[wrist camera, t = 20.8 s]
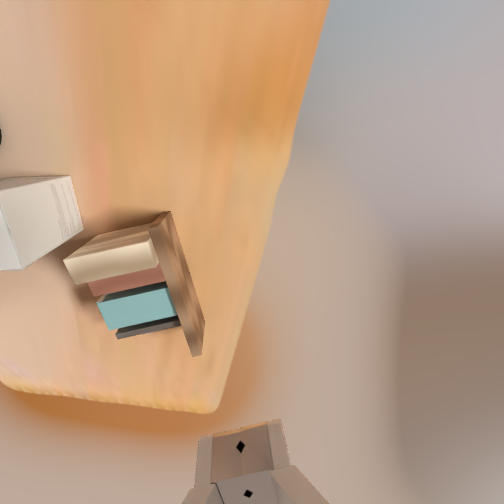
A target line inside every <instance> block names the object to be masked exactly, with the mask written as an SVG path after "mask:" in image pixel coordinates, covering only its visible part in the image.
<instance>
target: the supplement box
mask: <svg viewBox="0 0 504 504" xmlns="http://www.w3.org/2000/svg"><path fill="white" fill-rule="evenodd" d="M83 230H84V228H83V224H82V220H81V216H80V212H79V208H78V204H77V200H76V196H75V192H74V188H73V185H72V181H71V177H70V176H40V177H14V178H7V179H2V180H0V271H16V270H24V269H25V268H26V267H28V266H29V265H30V264H32V263H33V262H35V261H36V260H38V259H40V258H41V257H43V256H44V255H46V254H47V253H49V252H50V251H52V250H54V249H55V248H57V247H58V246H60V245H61V244H63V243H65V242H66V241H68V240H69V239H71V238H72V237H74V236H75V235H77V234H78V233H80V232H81V231H83Z"/></svg>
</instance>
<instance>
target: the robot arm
mask: <svg viewBox="0 0 504 504" xmlns="http://www.w3.org/2000/svg"><path fill="white" fill-rule="evenodd" d="M182 504H329V503H328V502H327V501H326V500H325V498H324V497H323V496H322V495H321V494H320V493H319V492H318V491H317V490H316V489H315V487H314V486H313V485H312V484H311V483H310V482H309V481H308V479H307V478H306V477H305V476H304V475H303V474H302V473H301V472H300V471H299V470H298V468H297V467H296V466H295V465H291V463H290V458H289V454H288V449H287V445H286V441H285V436H284V432H283V428H282V423H281V419H276V420H272V421H268V422H267V421H266V422H262V423H258V424H254V425H250V426H246V427H242V428H240V429H236V430H230V431H225V432H220V433H215V434H211V435H206V436H202V437H200V438H199V441H198V451H197V463H196V474H195V485H194V488H193V489H190V490H189V492H188V494H187V495H186V497H185V499H184V500H183V502H182Z"/></svg>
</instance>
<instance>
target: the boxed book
mask: <svg viewBox="0 0 504 504" xmlns="http://www.w3.org/2000/svg"><path fill="white" fill-rule="evenodd" d="M96 303H97V306H98V308H99V310H100V312H101V314H102V316H103V318H104V320H105V323H106V325H107V327H108V329H109V330H113V329H118V328H122V327H127V326H131V325H136V324H140V323H144V322H149V321H153V320H158V319H162V318H167V317H171V316H176V315H178V314H177V311H176V308H175V306H174V303H173V300H172V297H171V294H170V291H169V289H168V286H167V283H166V281H163V282H159V283H154V284H150V285H145V286H141V287H136V288H132V289H127V290H123V291H118V292H114V293H109V294H105V295H102V296H101V297H100V298H99V300H98V301H97V302H96Z"/></svg>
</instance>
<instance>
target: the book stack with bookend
mask: <svg viewBox="0 0 504 504" xmlns="http://www.w3.org/2000/svg"><path fill="white" fill-rule="evenodd" d="M63 261H64V263H65V266H66V268H67V270H68V272H69V274H70V276H71V278H72V280H73V282H74V284H75V285H77V284H82V283H86V282H87V284H88V286H89V288H90V290H91V292H92V294H93V297H96V296H100V295H105V294H109V293H114V292H118V291H123V290H127V289H132V288H136V287H141V286H145V285H150V284H154V283H159V282H163V281H166V283H167V286H168V289H169V291H170V294H171V297H172V300H173V303H174V306H175V308H176V311H177V314H178V315H176V316H171V317H167V318H162V319H158V320H153V321H149V322H144V323H140V324H136V325H131V326H127V327H122V328H119V329H118V331H117V333H116V337H117V339H121V338H126V337H130V336H135V335H139V334H146V333H151V332H155V331H159V330H164V329H168V328H173V327H177V326H182V328H183V331H184V334H185V337H186V340H187V343H188V345H189V348H190V351H191V354H192V357H195V356H199V355H201V354H202V345H203V336H204V326H205V320H204V317H203V314H202V311H201V308H200V304H199V301H198V298H197V295H196V292H195V288H194V285H193V282H192V279H191V276H190V272H189V269H188V266H187V263H186V260H185V256H184V253H183V250H182V247H181V244H180V240H179V237H178V234H177V231H176V228H175V224H174V221H173V218H172V215H171V212H170V211H169V212H164V213H161V214H160V215H159V217H158V218H157V219H156V220H155V221H154V222H153V223H149V224H144V225H140V226H135V227H131V228H126V229H122V230H117V231H112V232H108V233H103V234H99V235H97V236H96V237H94V238H93V239H91V240H90V241H89V242H87V243H86V244H85V245H83V246H82V247H80V248H79V249H78V250H76V251H75V252H74V253H72V254H71V255H69V256H68V257H67V258H65V259H64V260H63Z"/></svg>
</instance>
